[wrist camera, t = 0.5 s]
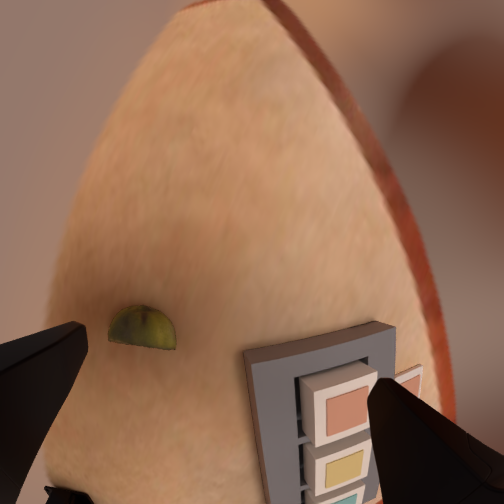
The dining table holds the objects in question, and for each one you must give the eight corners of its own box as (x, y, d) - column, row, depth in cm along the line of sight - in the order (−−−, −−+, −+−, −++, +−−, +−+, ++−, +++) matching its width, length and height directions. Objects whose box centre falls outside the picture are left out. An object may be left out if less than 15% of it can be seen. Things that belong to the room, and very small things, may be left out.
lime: (185, 337, 22) (184, 358, 17) (136, 362, 21) (124, 388, 16) (157, 288, 21) (147, 297, 16) (107, 316, 20) (87, 330, 15)
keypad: (363, 484, 25) (375, 497, 22) (268, 516, 23) (275, 533, 19) (375, 320, 25) (395, 326, 22) (243, 350, 22) (251, 364, 19)
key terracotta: (356, 411, 22) (375, 426, 19) (302, 429, 21) (316, 448, 18) (357, 360, 22) (378, 371, 19) (298, 376, 21) (314, 393, 18)
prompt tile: (411, 429, 27) (414, 432, 26) (384, 443, 26) (388, 446, 25) (419, 363, 27) (424, 365, 26) (391, 376, 26) (396, 378, 25)
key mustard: (353, 461, 22) (368, 477, 19) (304, 478, 21) (315, 497, 18) (356, 423, 22) (373, 438, 19) (302, 441, 21) (316, 461, 18)
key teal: (348, 496, 22) (360, 512, 19) (304, 512, 21) (314, 530, 18) (352, 469, 22) (366, 485, 19) (304, 486, 21) (315, 505, 18)
